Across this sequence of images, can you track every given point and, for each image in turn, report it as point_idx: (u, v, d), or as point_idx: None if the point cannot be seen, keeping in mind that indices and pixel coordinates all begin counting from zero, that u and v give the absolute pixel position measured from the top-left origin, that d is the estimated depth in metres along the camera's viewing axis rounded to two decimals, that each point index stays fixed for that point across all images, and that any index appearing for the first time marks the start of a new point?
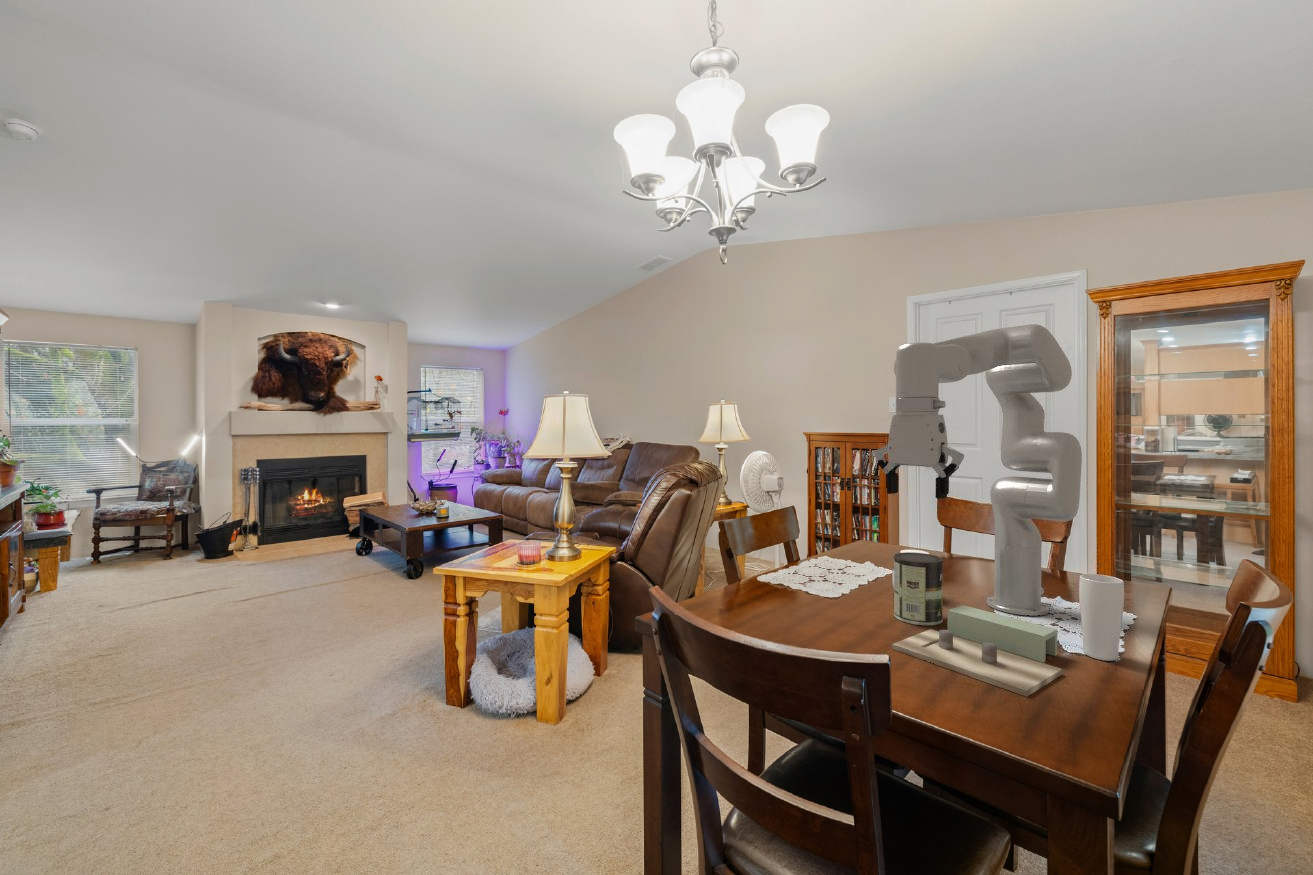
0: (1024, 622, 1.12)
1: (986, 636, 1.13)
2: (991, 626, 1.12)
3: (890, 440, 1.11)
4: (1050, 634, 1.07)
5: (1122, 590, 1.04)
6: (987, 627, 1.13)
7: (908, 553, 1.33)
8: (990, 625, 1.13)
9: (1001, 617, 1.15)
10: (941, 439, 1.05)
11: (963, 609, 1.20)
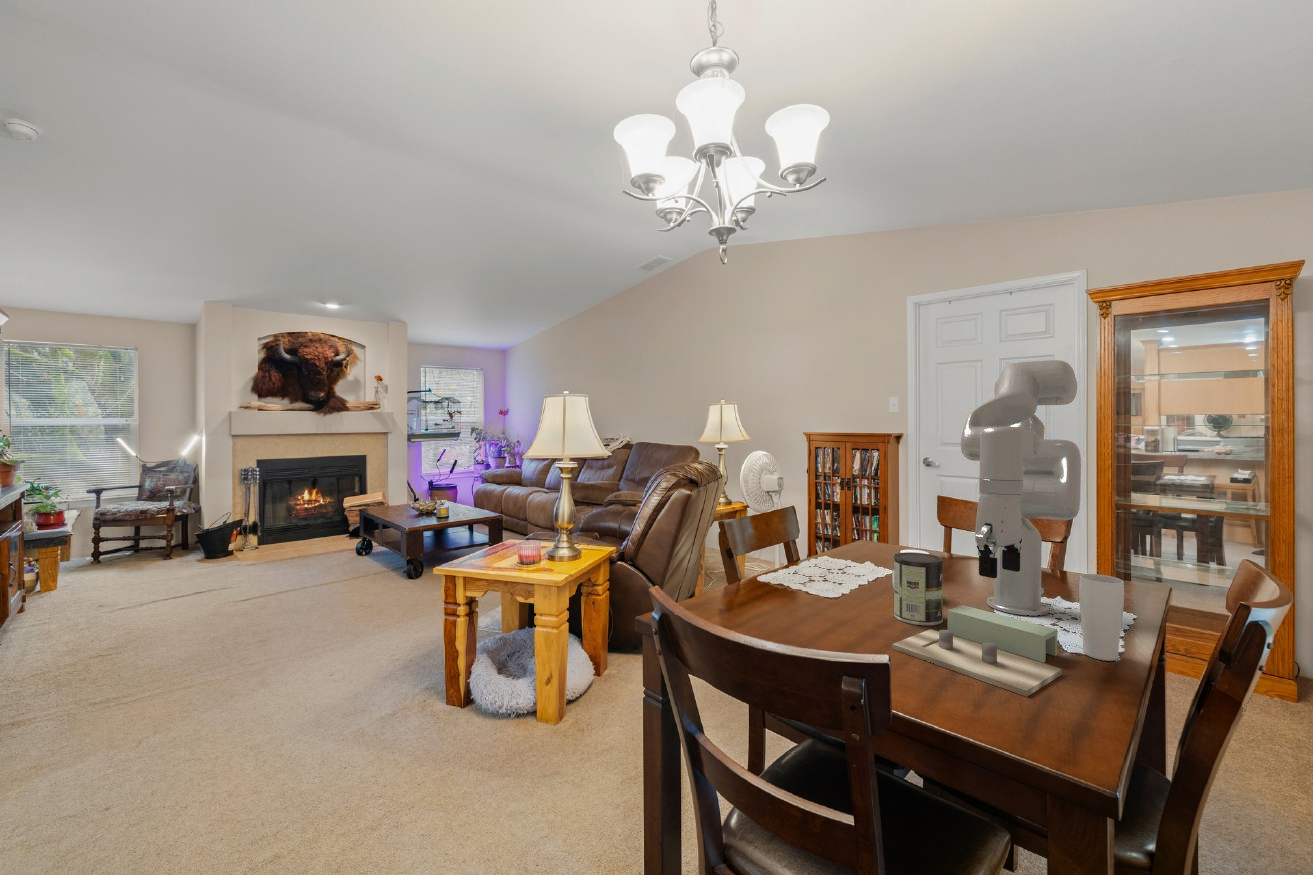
0: (1024, 622, 1.12)
1: (986, 636, 1.13)
2: (991, 626, 1.12)
3: (1001, 523, 1.09)
4: (1050, 634, 1.07)
5: (1122, 590, 1.04)
6: (987, 627, 1.13)
7: (908, 553, 1.33)
8: (990, 625, 1.13)
9: (1001, 617, 1.15)
10: None
11: (963, 609, 1.20)
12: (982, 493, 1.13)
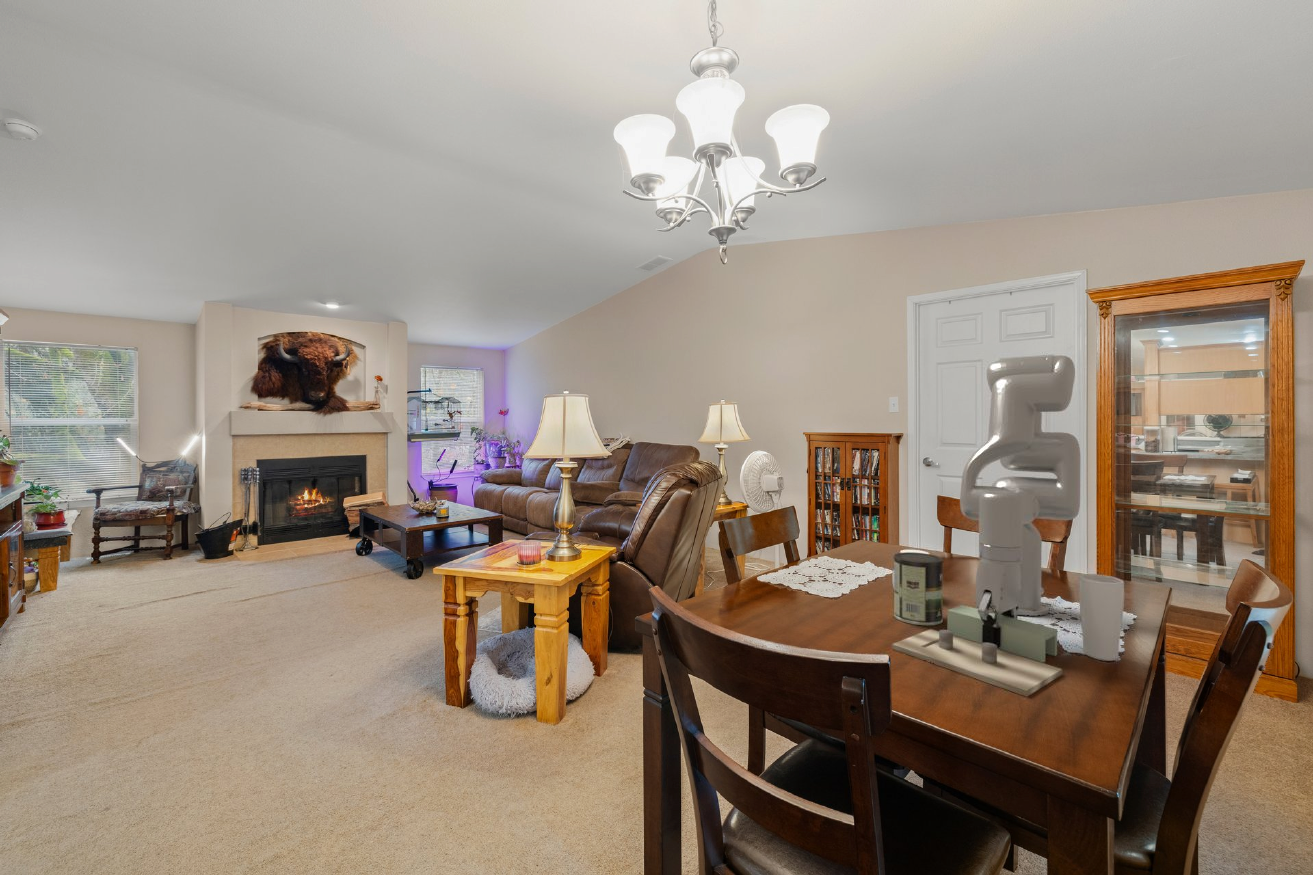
0: (1024, 622, 1.12)
1: None
2: None
3: (1001, 590, 1.10)
4: (1050, 634, 1.07)
5: (1122, 590, 1.04)
6: None
7: (908, 553, 1.33)
8: None
9: (1001, 617, 1.15)
10: None
11: (963, 609, 1.20)
12: (981, 558, 1.14)
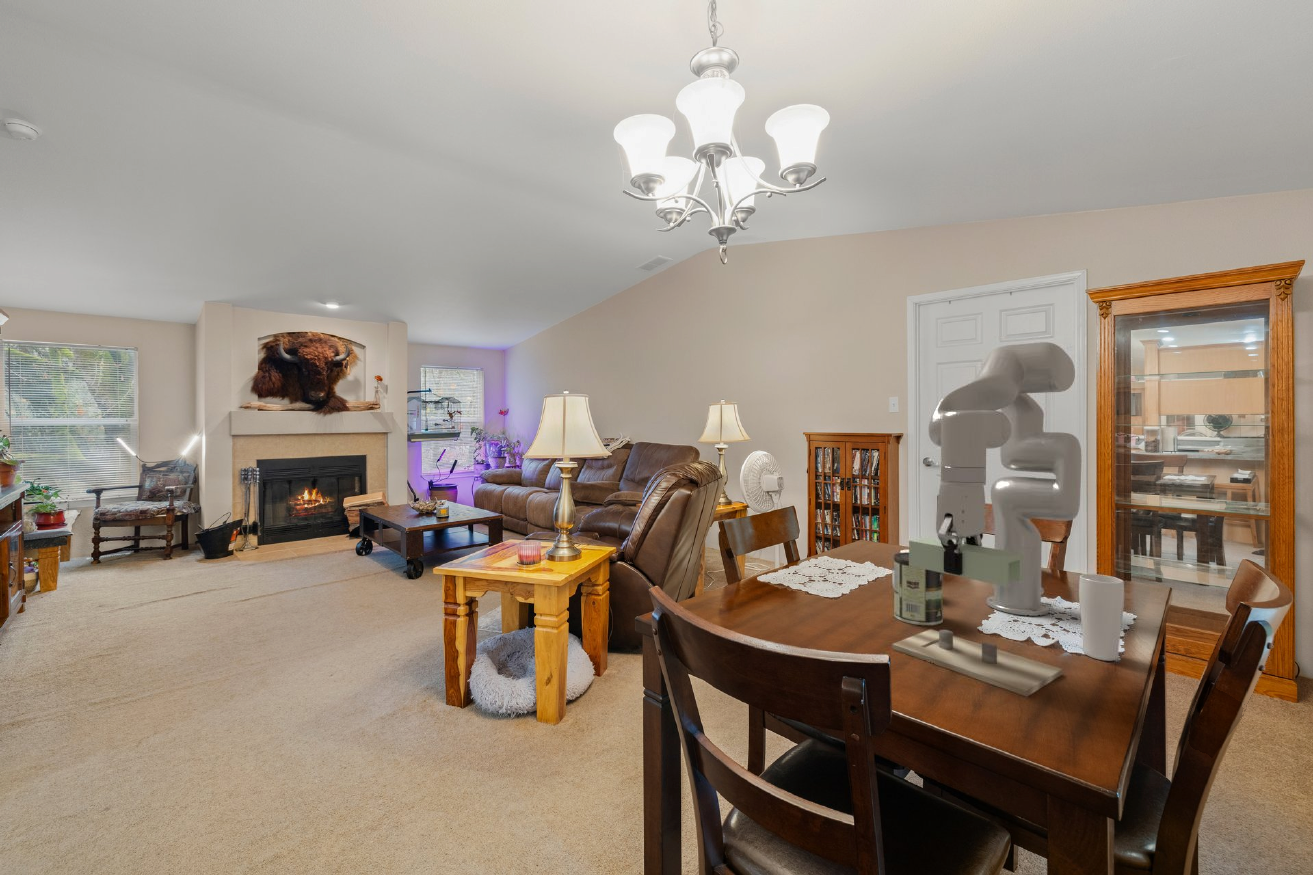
0: (988, 548, 1.05)
1: None
2: None
3: (962, 513, 1.03)
4: (1014, 557, 0.99)
5: (1122, 590, 1.05)
6: None
7: (908, 553, 1.33)
8: None
9: (965, 545, 1.08)
10: None
11: (926, 540, 1.13)
12: (943, 481, 1.07)
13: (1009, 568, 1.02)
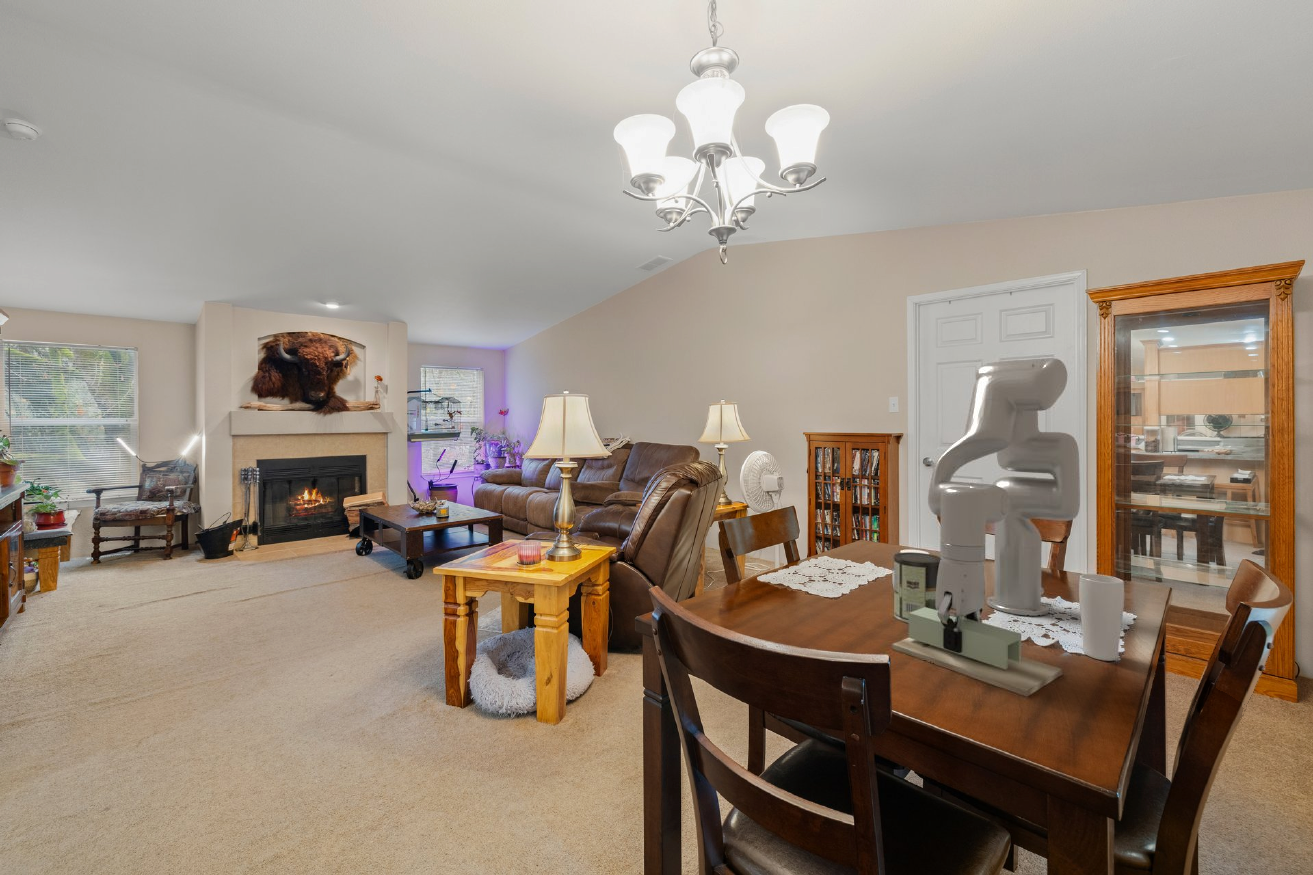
0: (987, 626, 1.05)
1: None
2: None
3: (962, 592, 1.03)
4: (1013, 639, 1.00)
5: (1122, 590, 1.04)
6: None
7: (908, 553, 1.33)
8: None
9: (964, 620, 1.08)
10: None
11: (925, 611, 1.14)
12: (943, 558, 1.07)
13: (1008, 647, 1.03)
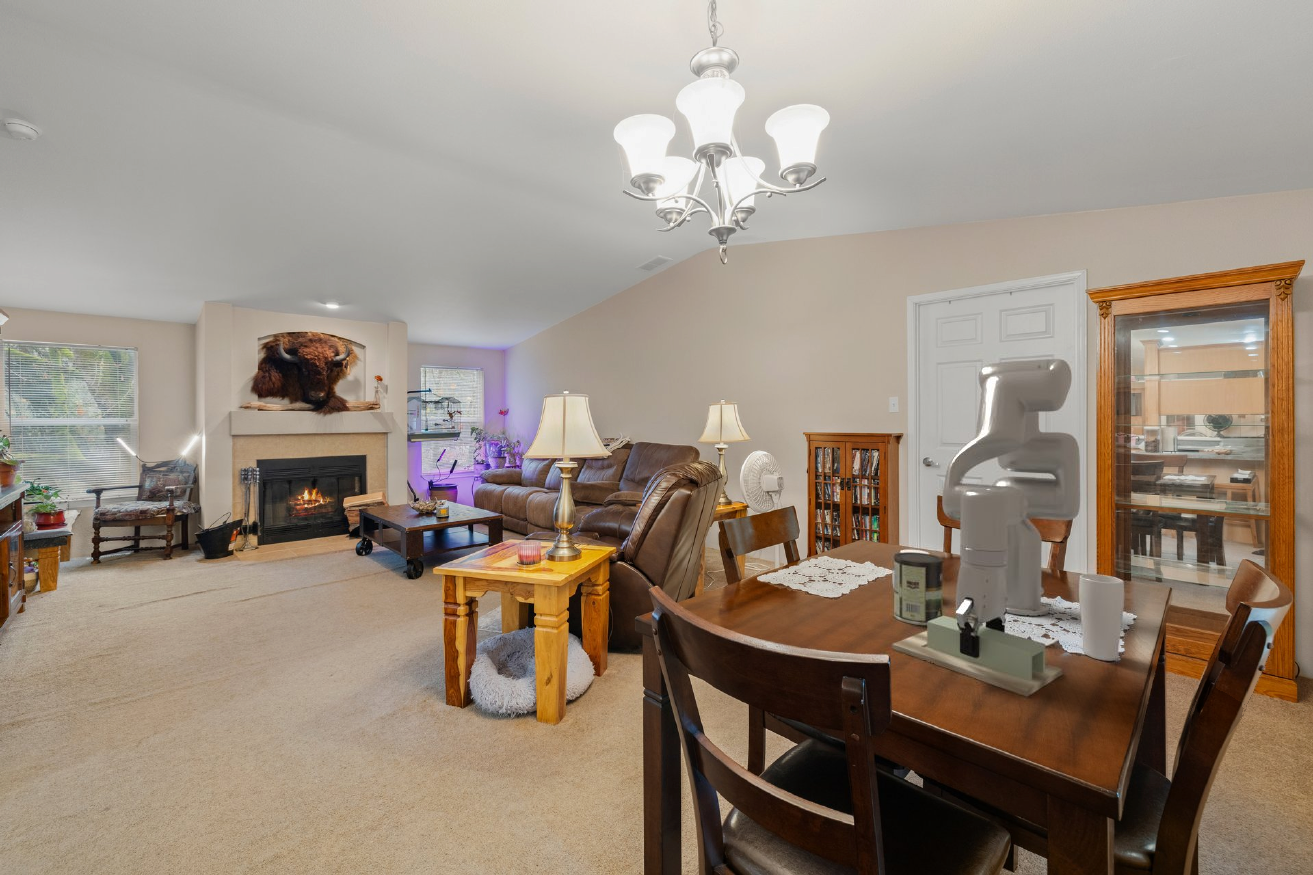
0: (1009, 635, 1.02)
1: None
2: None
3: (983, 598, 1.00)
4: (1037, 649, 0.97)
5: (1122, 590, 1.04)
6: None
7: (908, 553, 1.33)
8: None
9: (985, 629, 1.05)
10: None
11: (944, 620, 1.11)
12: (963, 562, 1.04)
13: (1032, 658, 1.00)
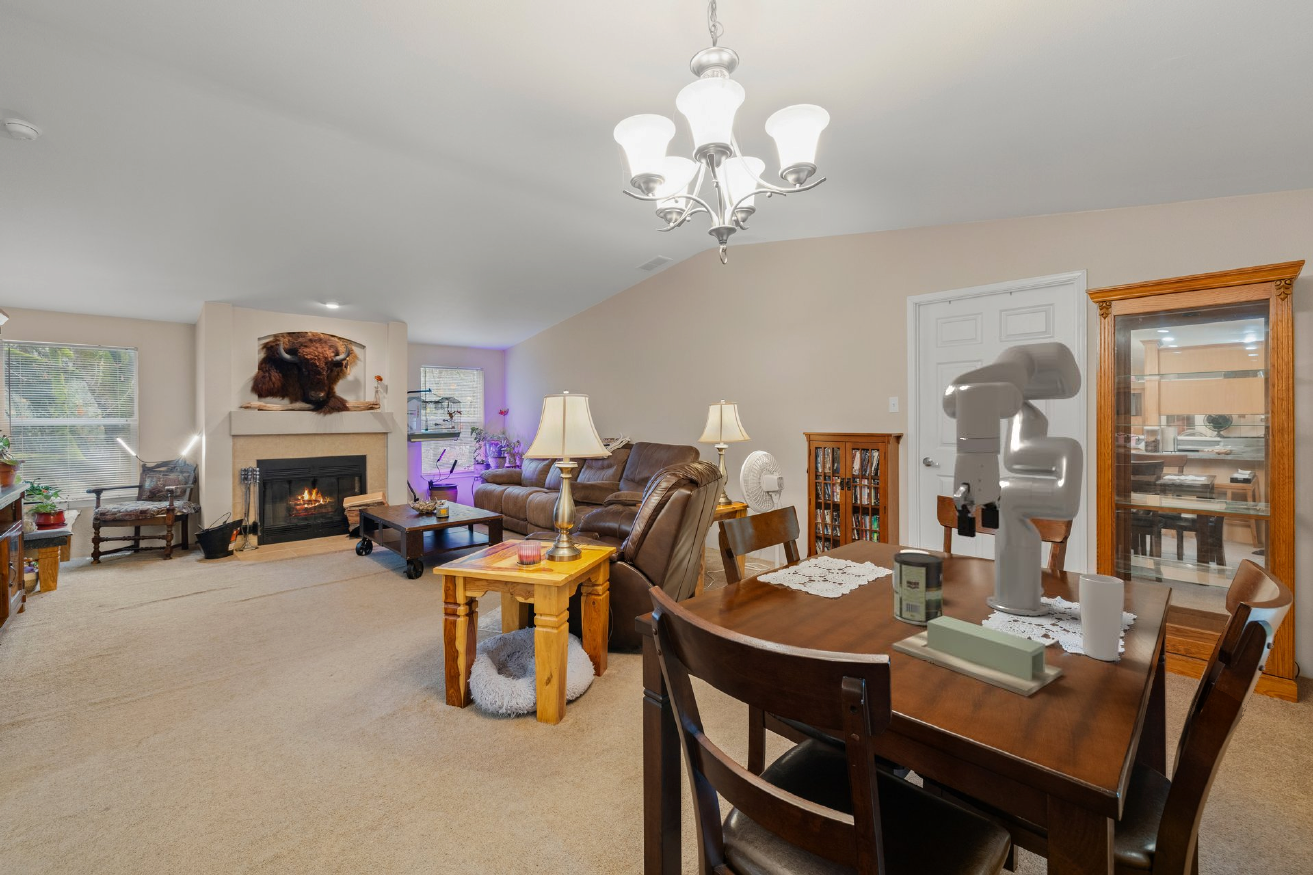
0: (1009, 635, 1.02)
1: (968, 651, 1.04)
2: (973, 640, 1.03)
3: (979, 482, 1.08)
4: (1037, 649, 0.97)
5: (1122, 590, 1.04)
6: (969, 640, 1.03)
7: (908, 553, 1.33)
8: (972, 639, 1.03)
9: (985, 629, 1.05)
10: None
11: (944, 620, 1.11)
12: (959, 452, 1.11)
13: (1032, 658, 1.00)
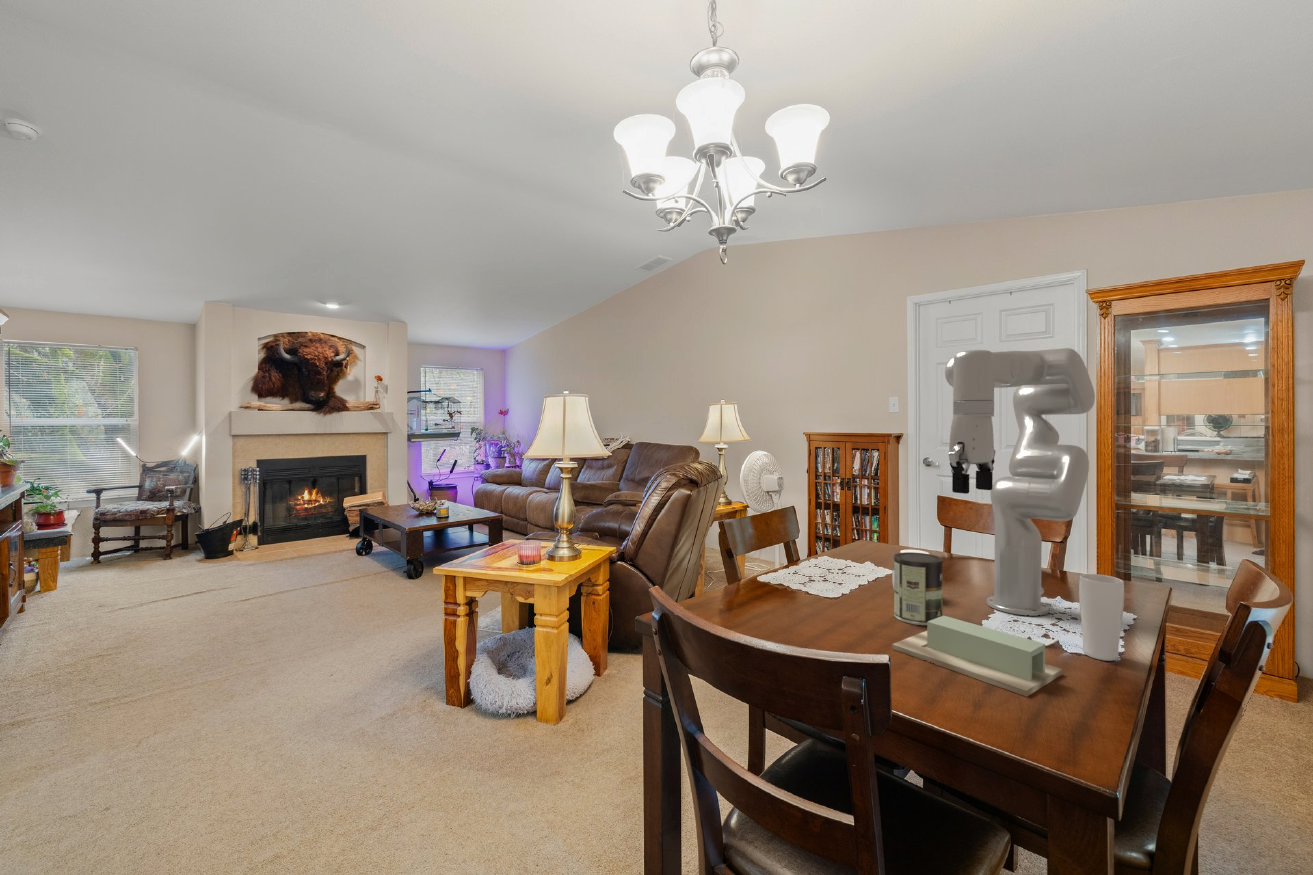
0: (1009, 635, 1.02)
1: (968, 651, 1.04)
2: (973, 640, 1.03)
3: (973, 441, 1.14)
4: (1037, 649, 0.97)
5: (1122, 590, 1.04)
6: (969, 640, 1.03)
7: (908, 553, 1.33)
8: (972, 639, 1.03)
9: (985, 629, 1.05)
10: None
11: (944, 620, 1.11)
12: (955, 415, 1.18)
13: (1032, 658, 1.00)
